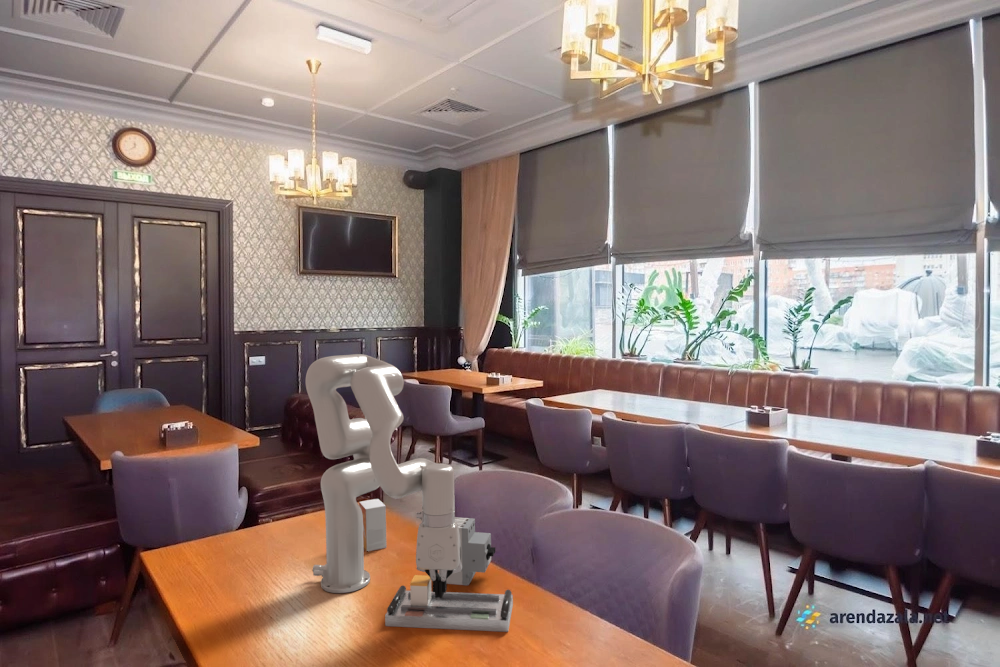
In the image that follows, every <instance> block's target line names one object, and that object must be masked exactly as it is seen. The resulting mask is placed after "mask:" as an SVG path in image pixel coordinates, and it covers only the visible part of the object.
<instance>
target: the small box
mask: <svg viewBox="0 0 1000 667" xmlns="http://www.w3.org/2000/svg"><path fill="white" fill-rule="evenodd" d="M358 505H359V506H360V508H361V510H362V514H363V546H364V551H366V552H367V551H368V552H372V551H376V550H381V549H386V548H387V515H386V514H387V512H386V510H387V507H386V505H385V503H384V502H382V501H381V500H380V499H379V498H373V499H367V500H362V501H359V502H358Z"/></svg>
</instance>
